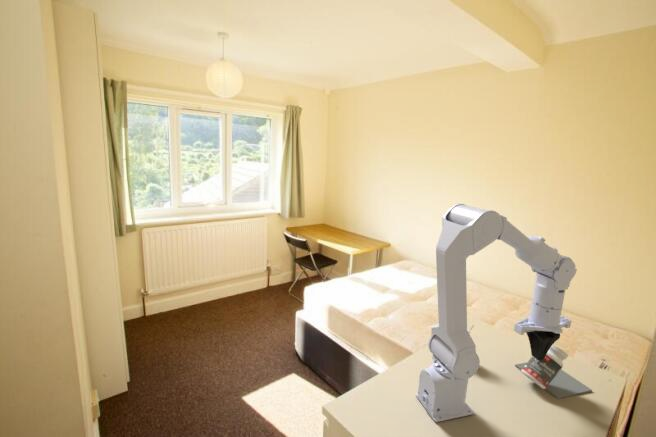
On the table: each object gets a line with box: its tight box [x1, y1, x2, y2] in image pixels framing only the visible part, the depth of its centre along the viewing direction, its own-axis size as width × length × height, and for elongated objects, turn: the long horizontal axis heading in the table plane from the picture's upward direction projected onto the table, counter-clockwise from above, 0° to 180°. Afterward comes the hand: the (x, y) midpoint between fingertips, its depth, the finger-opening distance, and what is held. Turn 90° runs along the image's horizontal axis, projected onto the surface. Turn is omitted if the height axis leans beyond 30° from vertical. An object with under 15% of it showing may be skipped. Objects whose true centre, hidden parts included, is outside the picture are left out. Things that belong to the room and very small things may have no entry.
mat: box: [514, 362, 593, 400], centre depth 80 cm, size 10×12×1 cm
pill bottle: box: [520, 343, 569, 390], centre depth 76 cm, size 6×6×10 cm
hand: (537, 357), depth 75 cm, fingers closed
